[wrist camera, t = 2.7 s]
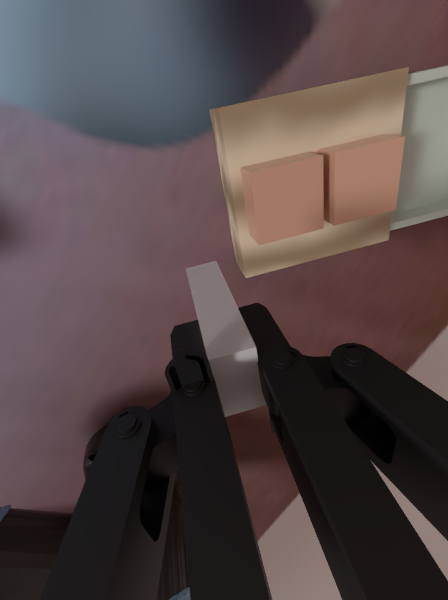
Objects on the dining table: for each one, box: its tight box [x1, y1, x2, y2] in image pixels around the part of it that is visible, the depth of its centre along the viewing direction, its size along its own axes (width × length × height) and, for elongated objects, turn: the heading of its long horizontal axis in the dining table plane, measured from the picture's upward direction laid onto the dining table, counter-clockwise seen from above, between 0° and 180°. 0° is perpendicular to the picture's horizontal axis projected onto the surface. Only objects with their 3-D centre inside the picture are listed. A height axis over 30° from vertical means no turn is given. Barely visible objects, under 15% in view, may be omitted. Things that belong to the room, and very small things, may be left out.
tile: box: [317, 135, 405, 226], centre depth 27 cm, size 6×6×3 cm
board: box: [210, 67, 409, 278], centre depth 30 cm, size 15×16×4 cm
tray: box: [390, 65, 448, 231], centre depth 31 cm, size 14×12×3 cm
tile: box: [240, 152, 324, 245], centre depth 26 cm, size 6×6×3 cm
